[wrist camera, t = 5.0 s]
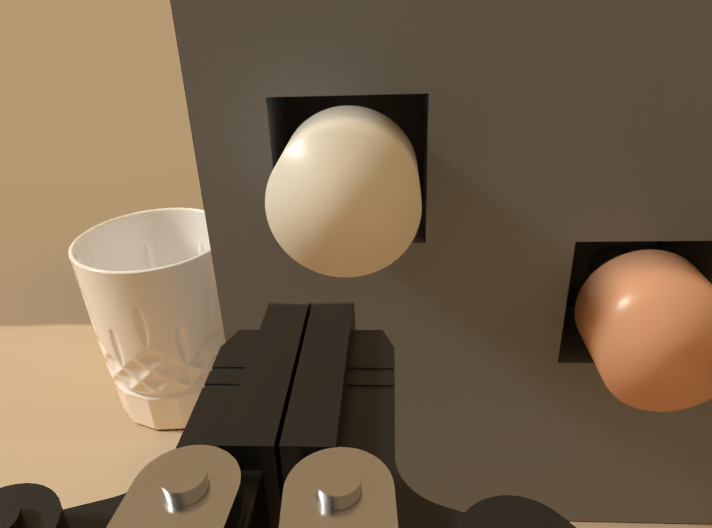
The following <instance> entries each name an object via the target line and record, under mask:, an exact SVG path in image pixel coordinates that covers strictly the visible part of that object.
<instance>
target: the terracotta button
mask: <svg viewBox="0 0 712 528" xmlns="http://www.w3.org/2000/svg"><path fill="white" fill-rule="evenodd" d="M588 274H589V278H588V279H587V280H586V281H585V283H584V284H583V286H582V287H581V289H580V291H579V293H578V296H577V298H576V302H575V309H574V316H575V322H576V326H577V328H578V330H579V333H580V335H581V337H582V339H583V341H584V343H585V345H586V347H587V349H588V351H589V353H590V355H591V357H592V359H593V361H594V363H595V365H596V367H597V369H598V371H599V373H600V375H601V377H602V379H603V381H604V383H605V385H606V387H607V388H608V390H609V391H610V392H611V393H612V394H613V395H614V396H615V397H616V398H617V399H619V400H620V401H622V402H623V403H625V404H627V405H629V406H632V407H634V408H637V409H641V410H646V411H653V412H670V411H677V410H682V409H686V408H690V407H693V406H696V405H699V404H701V403H703V402H706V401H708V400H709V399H711V398H712V284H711V283H710V282H709V281H708V280H707V279H706V278H705V277H704V276H703V275H702V274H701V273H700V272H699V271H698V270H697V268H696V267H695V266H694V265H692V264H691V263H690V262H689V261H688V260H686V259H685V258H683V257H681V256H679V255H677V254H675V253H672V252H668V251H663V250H653V249H649V250H638V251H633V252H630V251H629V250H628V249H626V248H624V247H621V246H608V247H605V248H603V249H601V250H599V251H598V252H596V253H595V254H594V255H593V256H592V258H591V259H590V261H589V264H588Z"/></svg>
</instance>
